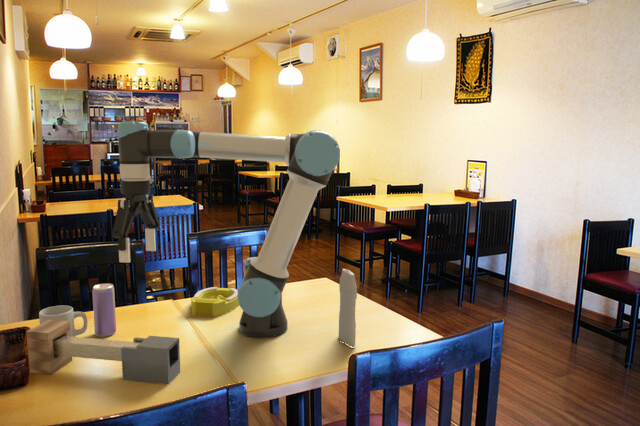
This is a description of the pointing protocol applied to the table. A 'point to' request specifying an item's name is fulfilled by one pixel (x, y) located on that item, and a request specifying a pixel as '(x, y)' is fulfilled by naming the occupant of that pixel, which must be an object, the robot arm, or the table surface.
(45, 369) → the socket block
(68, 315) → the mug
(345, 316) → the tall pale column
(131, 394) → the table surface
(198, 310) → the ashtray
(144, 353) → the sleeve
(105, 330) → the beverage can
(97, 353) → the beige square bar
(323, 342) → the table surface
